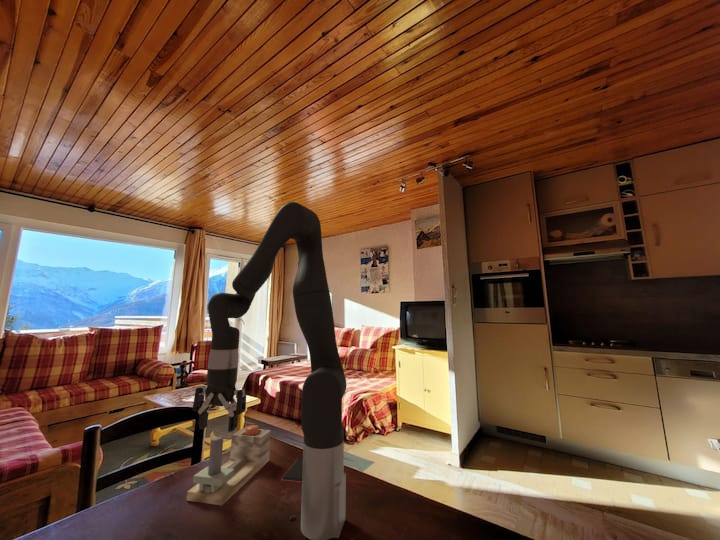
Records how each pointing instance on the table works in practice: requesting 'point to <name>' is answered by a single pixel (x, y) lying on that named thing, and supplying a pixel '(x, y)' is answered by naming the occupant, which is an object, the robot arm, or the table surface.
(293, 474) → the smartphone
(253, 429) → the button
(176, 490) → the table surface
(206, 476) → the carriage
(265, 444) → the rail base
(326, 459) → the robot arm
